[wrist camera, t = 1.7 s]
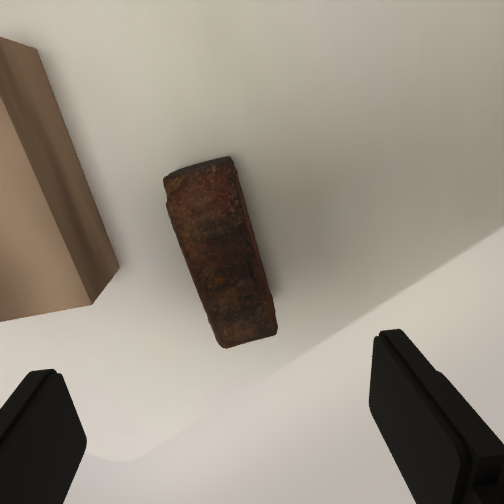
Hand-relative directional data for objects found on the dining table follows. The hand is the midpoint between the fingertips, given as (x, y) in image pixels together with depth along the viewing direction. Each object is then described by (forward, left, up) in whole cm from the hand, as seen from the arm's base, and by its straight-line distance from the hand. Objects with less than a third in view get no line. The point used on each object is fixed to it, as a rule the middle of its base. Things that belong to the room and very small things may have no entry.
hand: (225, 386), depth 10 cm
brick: (0, 0, -13) cm, 13 cm away
